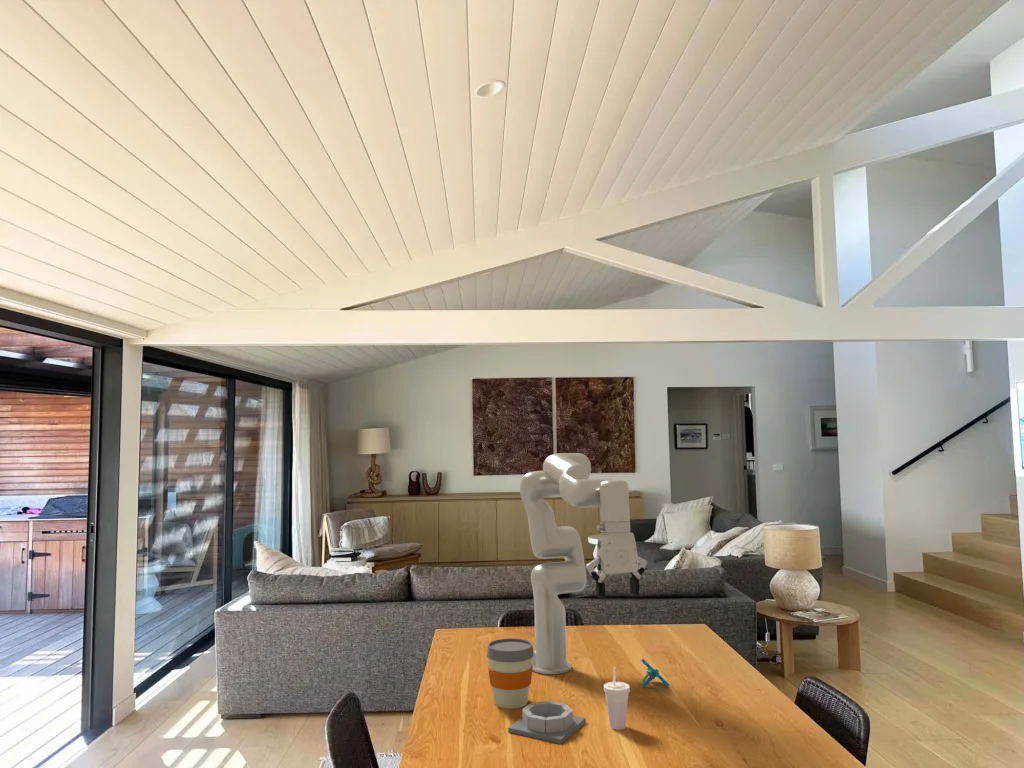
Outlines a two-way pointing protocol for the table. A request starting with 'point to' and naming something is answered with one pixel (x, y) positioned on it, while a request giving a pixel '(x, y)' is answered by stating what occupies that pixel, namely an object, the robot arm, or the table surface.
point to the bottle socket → (547, 721)
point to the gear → (652, 675)
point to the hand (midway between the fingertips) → (618, 596)
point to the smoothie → (617, 702)
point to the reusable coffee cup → (510, 671)
